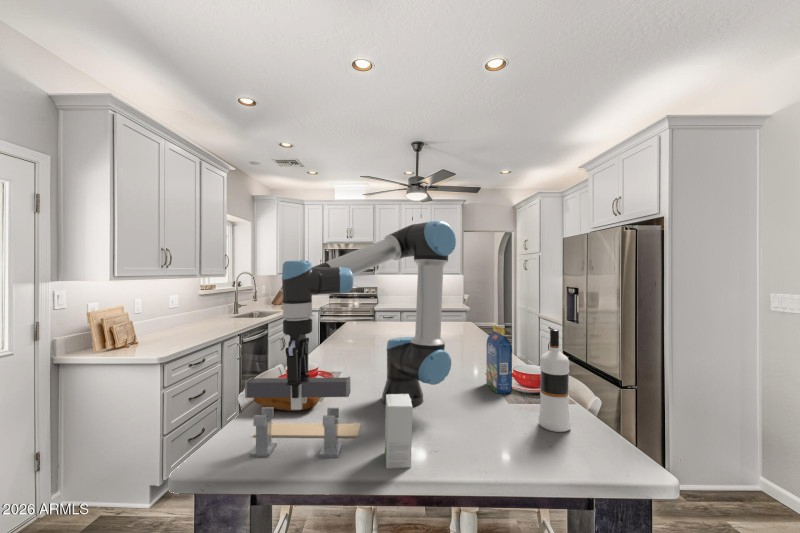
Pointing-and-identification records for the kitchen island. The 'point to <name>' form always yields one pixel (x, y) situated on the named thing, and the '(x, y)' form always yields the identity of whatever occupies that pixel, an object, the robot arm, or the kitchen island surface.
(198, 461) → the kitchen island surface
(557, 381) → the vodka
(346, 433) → the mat
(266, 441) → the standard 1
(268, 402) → the inscribed clay slab
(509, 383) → the blue food package
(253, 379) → the rail
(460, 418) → the kitchen island surface
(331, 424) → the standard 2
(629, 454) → the kitchen island surface
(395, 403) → the skincare box
